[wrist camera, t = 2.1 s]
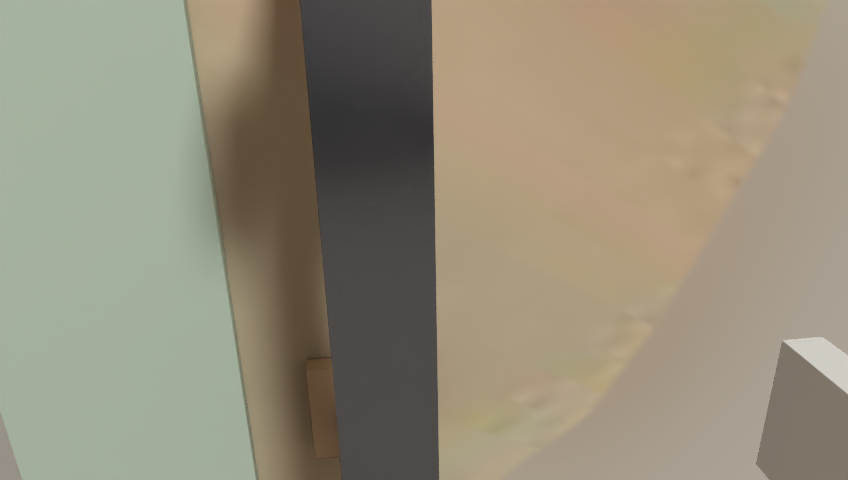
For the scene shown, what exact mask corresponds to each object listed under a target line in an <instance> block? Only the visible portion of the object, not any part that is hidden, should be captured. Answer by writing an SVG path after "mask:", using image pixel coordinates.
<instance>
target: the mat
mask: <svg viewBox="0 0 848 480" xmlns="http://www.w3.org/2000/svg"><path fill="white" fill-rule="evenodd" d="M0 412H1V415H2V418H3V421H4V424H5V427H6V430H7V434H8V437H9V440H10V443H11V446H12V449H13V452H14V455H15V459H16V462H17V465H18V468H19V471H20V474H21V477H22V480H258V473H257V467H256V460H255V453H254V447H253V440H252V433H251V427H250V420H249V413H248V407H247V400H246V393H245V387H244V380H243V373H242V367H241V360H240V353H239V347H238V340H237V333H236V327H235V320H234V313H233V307H232V300H231V293H230V287H229V280H228V273H227V267H226V260H225V253H224V247H223V240H222V233H221V227H220V220H219V213H218V207H217V200H216V193H215V187H214V180H213V173H212V167H211V160H210V153H209V147H208V140H207V133H206V127H205V120H204V113H203V107H202V100H201V93H200V87H199V80H198V73H197V67H196V60H195V53H194V47H193V40H192V33H191V27H190V20H189V13H188V7H187V0H0Z"/></svg>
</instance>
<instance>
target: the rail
mask: <svg viewBox="0 0 848 480" xmlns="http://www.w3.org/2000/svg"><path fill="white" fill-rule="evenodd" d="M300 7H301V18H302V29H303V41H304V52H305V63H306V75H307V86H308V98H309V109H310V120H311V132H312V143H313V155H314V166H315V177H316V189H317V200H318V211H319V223H320V234H321V246H322V257H323V268H324V280H325V291H326V302H327V314H328V325H329V337H330V348H331V359H332V371H333V382H334V394H335V405H336V416H337V428H338V439H339V450H340V462H341V473H342V480H439V452H438V389H437V326H436V262H435V199H434V136H433V72H432V9H431V0H300Z"/></svg>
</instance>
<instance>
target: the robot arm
mask: <svg viewBox="0 0 848 480" xmlns="http://www.w3.org/2000/svg"><path fill="white" fill-rule="evenodd" d="M756 465H757V466H758V467H759V468H760V469H761V470H762V472H763V473H764V474H765V475H766V476H767V477H768V479H770V480H848V356H847V355H846V354H845V353H843V352H842V351H840V350H839V349H838V348H837V347H835V346H834V345H832V344H831V343H830V342H829V341H827V340H826V339H824V338H823V337H816V338H804V339H793V340H783V341H782V344H781V349H780V354H779V358H778V364H777V368H776V373H775V377H774V382H773V387H772V391H771V396H770V401H769V406H768V410H767V415H766V420H765V424H764V429H763V434H762V438H761V443H760V448H759V453H758V457H757V462H756ZM0 480H22V477H21V474H20V471H19V468H18V465H17V462H16V459H15V455H14V452H13V449H12V446H11V443H10V440H9V437H8V434H7V430H6V427H5V424H4V421H3V418H2V415H1V412H0Z"/></svg>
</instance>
